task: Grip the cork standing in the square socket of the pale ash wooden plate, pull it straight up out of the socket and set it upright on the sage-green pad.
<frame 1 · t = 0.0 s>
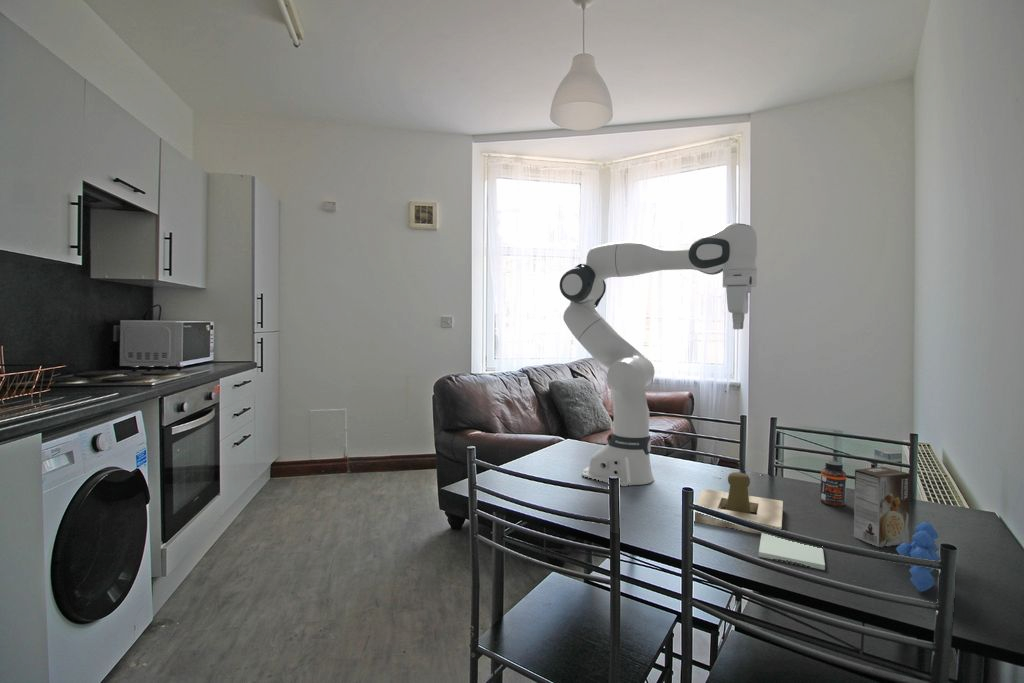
hand: (738, 329, 145), 48 cm above the table, tool pointing down, fingers open, 8 cm apart
grapes: (916, 585, 96), on the table
cork: (738, 516, 130), resting in socket plate
pad: (790, 551, 110), on the table
socket plate: (738, 515, 130), on the table
supplement bottle: (832, 503, 140), on the table
cookie box: (880, 541, 116), on the table
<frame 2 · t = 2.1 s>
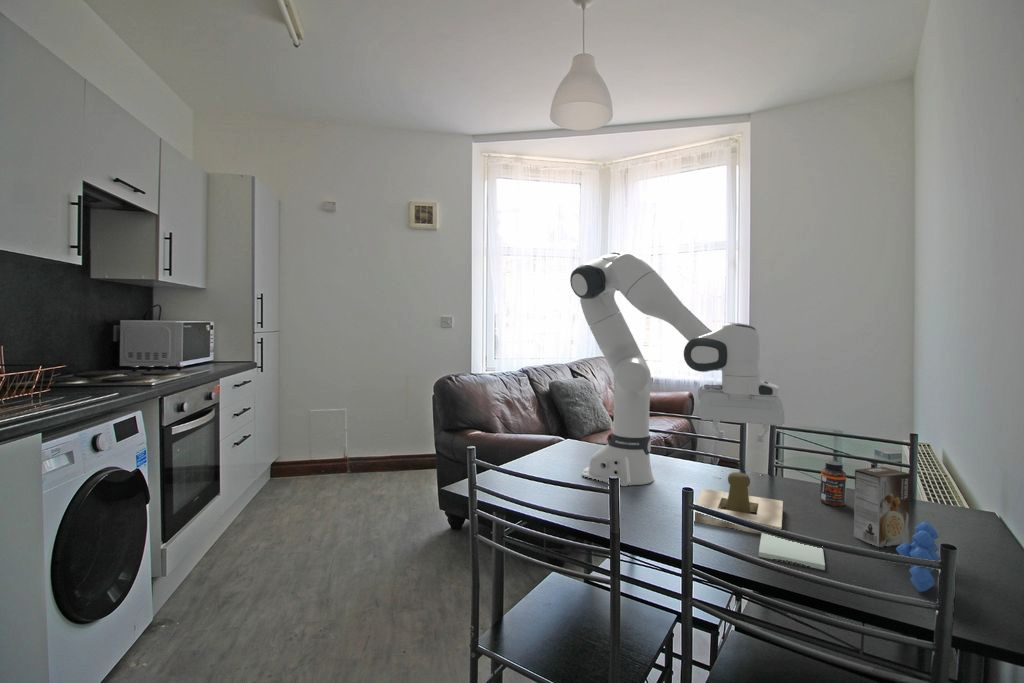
hand: (740, 439, 130), 20 cm above the table, tool pointing down, fingers open, 8 cm apart
nothing on the table moved.
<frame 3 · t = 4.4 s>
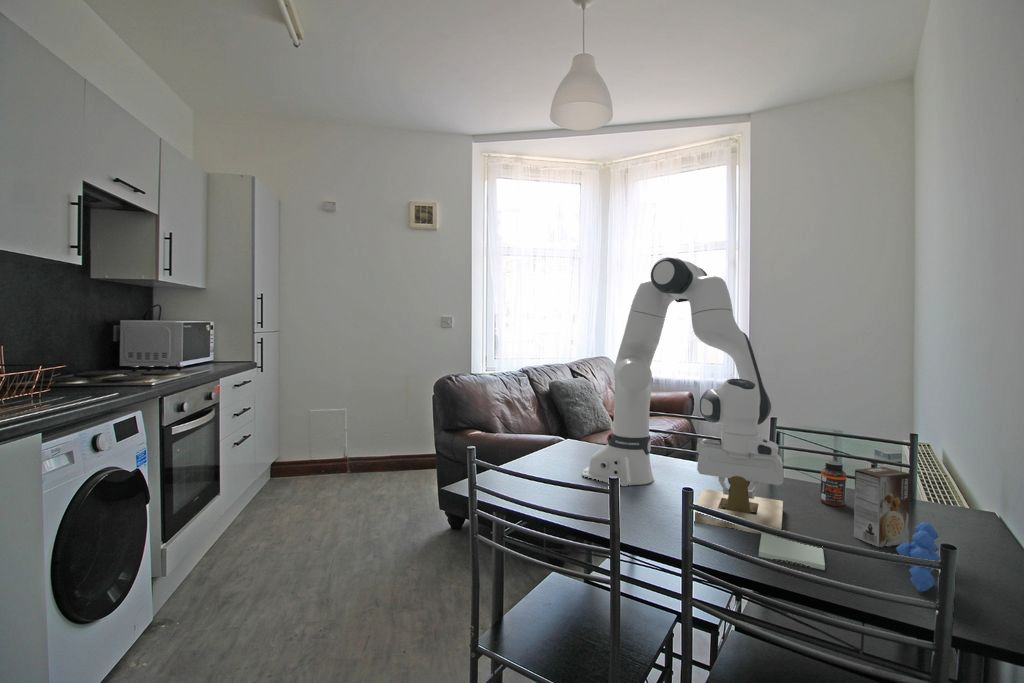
hand: (738, 495, 130), 5 cm above the table, tool pointing down, fingers closed on cork, 4 cm apart
cork: (738, 516, 130), resting in socket plate, touching gripper
everything else where it was.
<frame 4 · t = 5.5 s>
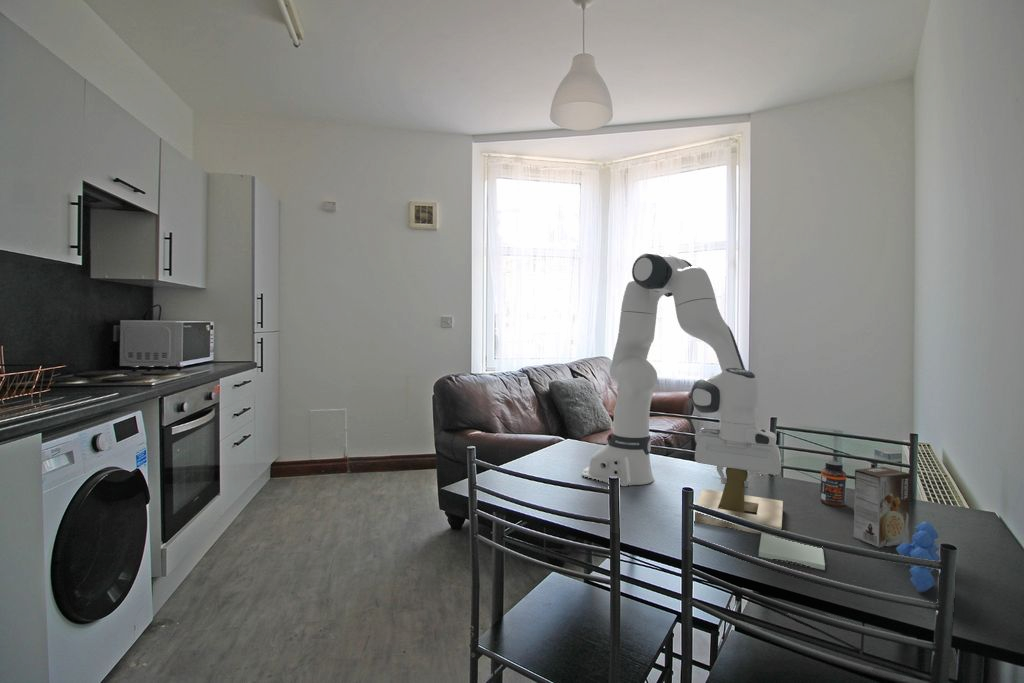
hand: (735, 485, 130), 8 cm above the table, tool pointing down, fingers closed on cork, 4 cm apart
cork: (731, 508, 131), point 2 cm above the table, touching gripper
everything else where it was.
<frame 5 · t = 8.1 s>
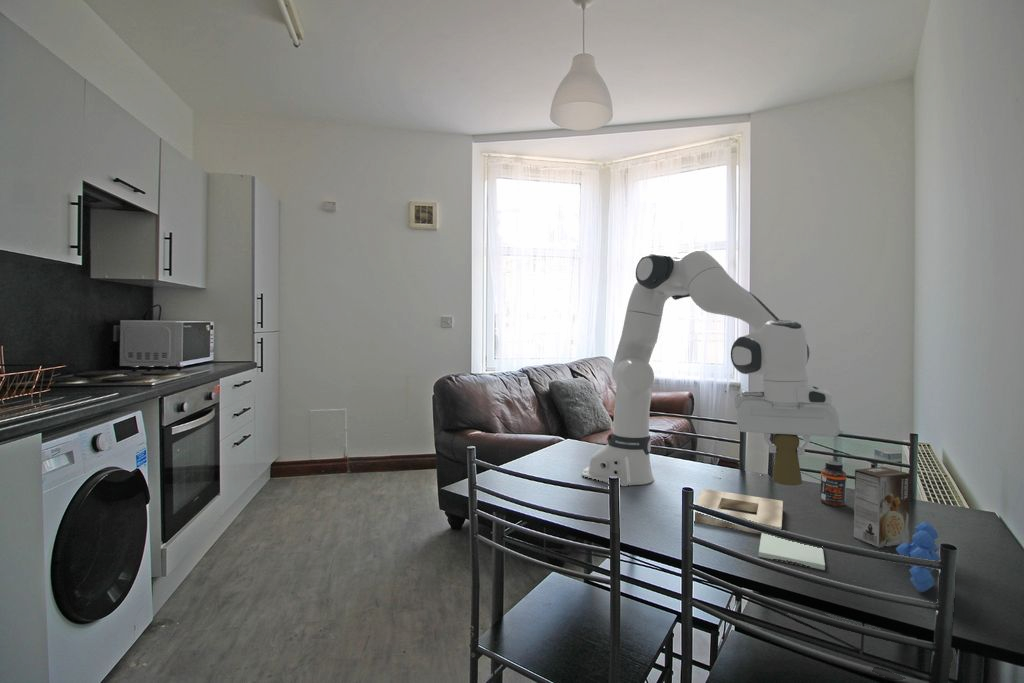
hand: (786, 453, 113), 20 cm above the table, tool pointing down, fingers closed on cork, 4 cm apart
cork: (787, 482, 114), point 14 cm above the table, touching gripper
everything else where it was.
when the fingers open (7 cm above the table, at t = 11.1 s): cork stays where it is, resting on pad.
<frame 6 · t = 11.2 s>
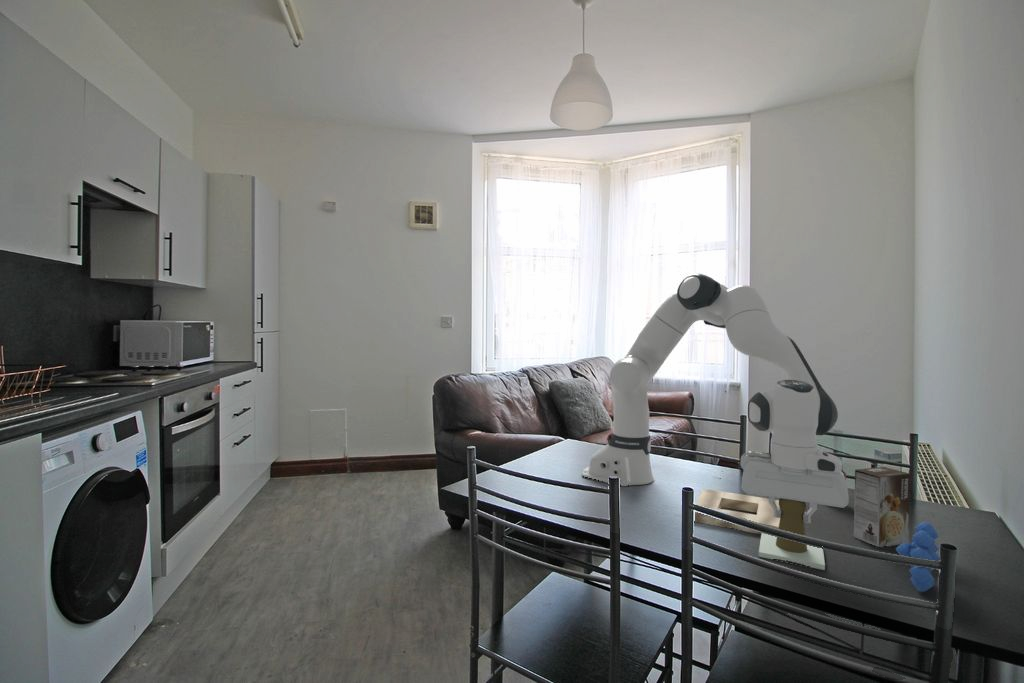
hand: (791, 519, 109), 7 cm above the table, tool pointing down, fingers open, 4 cm apart
cork: (791, 547, 110), point 1 cm above the table, touching pad
everything else where it was.
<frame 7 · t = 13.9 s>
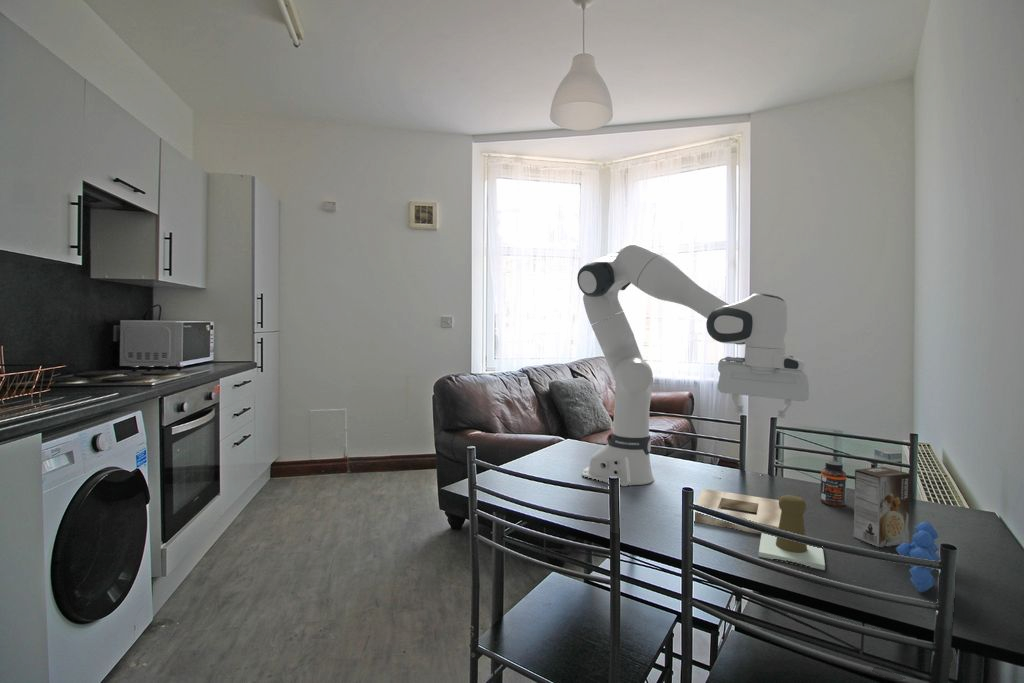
hand: (759, 414, 125), 27 cm above the table, tool pointing down, fingers open, 8 cm apart
nothing on the table moved.
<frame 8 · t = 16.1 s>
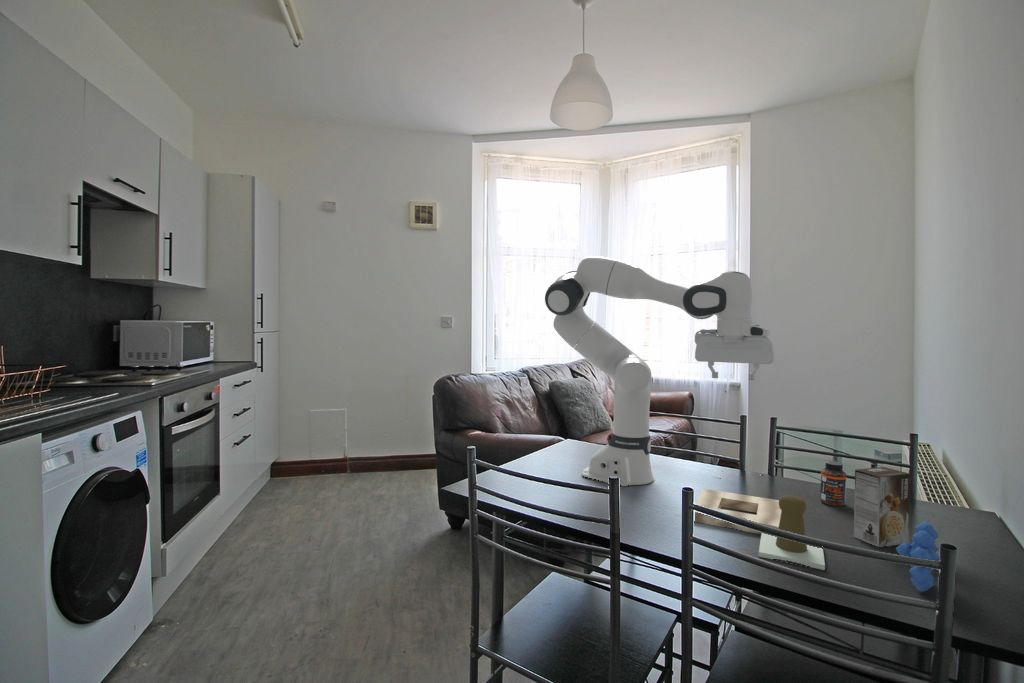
hand: (733, 379, 141), 34 cm above the table, tool pointing down, fingers open, 8 cm apart
nothing on the table moved.
at the end: cork inside the target area on the pad (0.3 cm from its centre), point 0.8 cm above the pad's base; cork tilted 0°; the gripper is holding nothing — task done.
